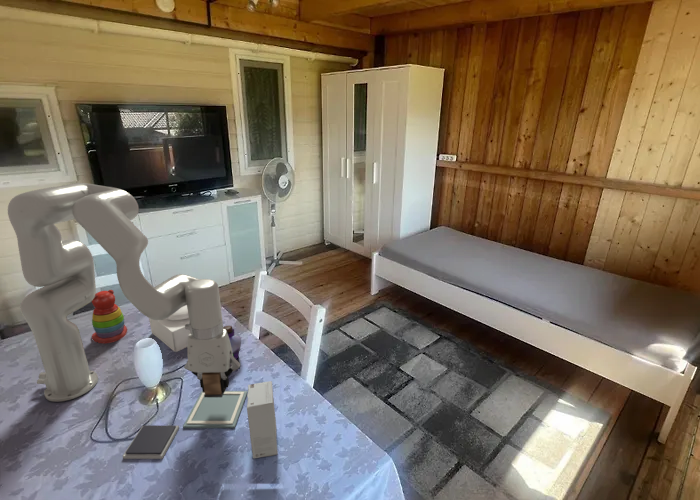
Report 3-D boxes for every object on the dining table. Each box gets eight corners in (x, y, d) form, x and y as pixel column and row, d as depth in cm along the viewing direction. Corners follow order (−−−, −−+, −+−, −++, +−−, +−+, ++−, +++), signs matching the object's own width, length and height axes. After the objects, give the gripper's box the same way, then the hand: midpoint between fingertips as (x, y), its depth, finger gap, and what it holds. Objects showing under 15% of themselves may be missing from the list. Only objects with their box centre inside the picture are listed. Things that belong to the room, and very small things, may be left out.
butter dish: (197, 317, 146) (192, 280, 141) (223, 333, 135) (218, 294, 130) (152, 335, 133) (144, 295, 128) (175, 355, 122) (169, 312, 117)
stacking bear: (124, 325, 139) (115, 282, 133) (133, 336, 132) (123, 291, 126) (90, 337, 131) (79, 291, 125) (98, 348, 125) (86, 301, 119)
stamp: (204, 397, 96) (201, 375, 93) (210, 385, 100) (207, 363, 97) (221, 397, 96) (218, 375, 93) (227, 385, 100) (224, 363, 97)
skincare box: (277, 455, 86) (274, 404, 81) (251, 460, 85) (246, 408, 80) (276, 427, 94) (273, 379, 89) (252, 431, 93) (247, 382, 88)
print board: (183, 428, 93) (182, 425, 93) (202, 392, 106) (201, 389, 105) (234, 428, 93) (234, 425, 93) (247, 392, 106) (247, 390, 105)
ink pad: (123, 458, 85) (122, 454, 84) (143, 427, 93) (142, 423, 93) (162, 458, 85) (161, 454, 84) (179, 428, 93) (178, 424, 93)
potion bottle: (221, 371, 115) (217, 338, 111) (212, 357, 121) (208, 325, 117) (248, 361, 119) (245, 329, 115) (238, 348, 126) (235, 317, 122)
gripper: (166, 336, 88) (177, 399, 94) (237, 336, 88) (243, 399, 94) (179, 320, 95) (189, 379, 101) (245, 320, 95) (250, 379, 101)
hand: (215, 388), depth 97 cm, fingers closed on stamp, 4 cm apart
